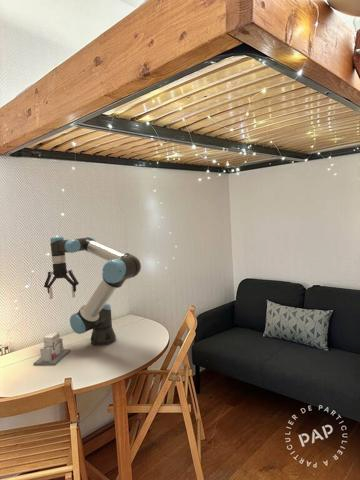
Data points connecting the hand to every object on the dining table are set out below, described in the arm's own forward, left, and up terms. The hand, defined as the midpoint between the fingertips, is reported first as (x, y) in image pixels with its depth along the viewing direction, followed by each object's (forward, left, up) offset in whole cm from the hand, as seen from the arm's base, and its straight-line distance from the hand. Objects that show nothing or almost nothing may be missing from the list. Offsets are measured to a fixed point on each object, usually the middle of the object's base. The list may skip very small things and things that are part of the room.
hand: (62, 297), depth 198 cm
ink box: (-1, +19, -28) cm, 33 cm away
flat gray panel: (-1, +19, -29) cm, 34 cm away
